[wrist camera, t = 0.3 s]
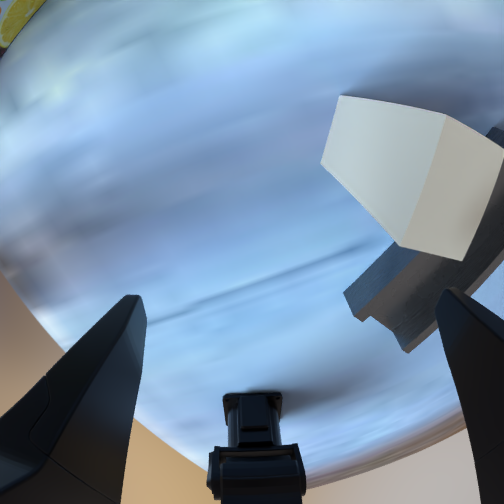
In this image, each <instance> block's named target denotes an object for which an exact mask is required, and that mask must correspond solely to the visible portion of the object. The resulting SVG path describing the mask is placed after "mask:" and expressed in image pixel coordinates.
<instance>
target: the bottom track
mask: <svg viewBox="0 0 504 504" xmlns="http://www.w3.org/2000/svg"><path fill="white" fill-rule="evenodd" d="M486 138H488V139H489V140H491V141H493V142H494V143H496V144H497V145H499V146H500V147H502V148H503V149H504V131H503V130H500V129H497V128H494V127H493V128H492V129H491V130H490V132H489V133H488V134H487V136H486ZM503 260H504V159H503V162H502V165H501V168H500V171H499V174H498V177H497V180H496V183H495V186H494V188H493V191H492V194H491V196H490V199H489V202H488V204H487V207H486V209H485V212H484V214H483V216H482V219H481V221H480V224H479V226H478V228H477V230H476V233H475V235H474V237H473V239H472V242H471V244H470V246H469V248H468V250H467V252H466V254H465V256H464V258H463V260H462V261H459V260H455V259H451V258H447V257H443V256H438V255H434V254H430V253H426V252H422V251H418V250H413V249H409V248H405V247H401V246H399V245H398V244H397V243H396V242H394V243H393V244H392V245H391V246H390V247H389V248H388V249H387V250H386V251H385V252H384V253H383V254H382V255H381V256H380V257H379V258H378V259H377V260H376V261H375V262H374V263H373V264H372V265H371V266H370V267H369V268H368V269H367V270H366V271H365V272H364V273H363V274H362V275H361V276H360V277H359V278H358V279H357V280H356V281H355V282H354V283H353V284H352V285H351V286H350V287H348V288H347V289H346V290H345V291H344V292H343V294H344V296H345V298H346V300H347V302H348V305H349V307H350V309H351V311H352V313H353V316H354V317H356V318H357V319H359V320H360V321H362V322H363V321H365V320H366V319H367V318H368V317H369V316H372V317H373V318H375V319H376V320H377V321H379V322H380V323H381V324H383V325H384V326H385V327H387V328H388V329H389V330H391V331H392V332H393V333H394V335H395V337H396V339H397V341H398V343H399V345H400V346H401V348H402V350H403V351H405V352H406V353H410V352H411V351H412V350H413V349H414V348H416V347H417V346H418V345H419V344H420V343H421V342H423V341H424V340H425V339H426V338H427V337H428V336H429V335H431V334H432V333H433V332H434V331H435V330H436V329H437V328H438V324H437V321H436V317H435V306H436V304H437V302H438V300H439V298H440V296H441V294H442V292H443V290H444V289H445V288H452V287H455V288H457V289H459V290H460V291H462V292H463V293H465V294H466V295H468V296H469V297H470V296H471V295H472V294H473V293H474V292H475V291H476V290H477V289H478V288H479V287H480V286H481V285H482V284H483V283H484V282H485V280H486V279H487V278H488V277H489V276H490V275H491V274H492V273H493V272H494V271H495V269H496V268H497V267H498V266H499V265H500V264H501V263H502V261H503Z"/></svg>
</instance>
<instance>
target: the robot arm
mask: <svg viewBox="0 0 504 504" xmlns="http://www.w3.org/2000/svg"><path fill="white" fill-rule="evenodd" d="M435 317H436V321H437V324H438V328H439V332H440V335H441V339H442V343H443V347H444V351H445V355H446V358H447V361H448V364H449V367H450V370H451V373H452V377H453V380H454V383H455V386H456V390H457V393H458V396H459V400H460V403H461V407H462V411H463V415H464V418H465V422H466V426H467V430H468V434H469V439H470V443H471V448H472V452H473V457H474V462H475V468H476V474H477V480H478V486H479V492H480V500H481V504H504V320H503V319H501V318H500V317H499V316H497V315H496V314H494V313H493V312H491V311H490V310H489V309H487V308H486V307H484V306H483V305H481V304H480V303H478V302H477V301H475V300H474V299H472V298H471V297H469V296H468V295H466V294H465V293H463V292H462V291H460V290H459V289H457V288H455V287H452V288H445V289H444V290H443V292H442V294H441V296H440V298H439V300H438V302H437V304H436V306H435ZM146 327H147V317H146V313H145V309H144V305H143V301H142V298H141V296H139V295H125V296H124V297H123V298H122V299H121V300H120V301H119V302H118V303H117V304H115V305H114V306H113V307H112V308H111V309H110V310H109V311H108V312H107V313H106V314H105V315H104V316H103V317H102V318H101V319H100V320H99V321H98V322H97V323H96V324H95V325H94V326H93V327H92V328H91V329H90V330H89V331H88V332H87V333H85V334H84V335H83V336H82V337H81V338H80V339H79V340H78V341H77V342H76V343H75V344H74V345H73V346H72V347H71V348H70V349H69V350H68V351H67V352H66V353H65V355H64V356H62V358H61V359H60V360H59V361H58V362H57V363H56V364H55V365H54V366H53V367H52V368H51V369H50V370H49V371H48V372H47V373H46V376H43V377H42V378H41V379H40V380H39V381H38V382H37V383H36V384H35V385H34V386H33V387H32V388H31V389H30V390H29V391H28V392H27V393H26V394H25V395H24V397H22V398H21V399H20V400H19V401H18V402H17V403H16V404H15V405H14V406H13V407H11V408H10V409H9V410H8V411H7V412H6V413H5V414H4V415H3V416H1V417H0V504H120V502H121V495H122V487H123V479H124V472H125V465H126V458H127V452H128V445H129V439H130V433H131V428H132V422H133V416H134V411H135V406H136V400H137V395H138V390H139V385H140V380H141V375H142V367H143V356H144V346H145V336H146ZM281 405H282V394H281V393H267V394H245V395H224V396H223V407H224V414H225V421H226V425H227V426H228V447H220V446H215V447H214V451H213V452H210V453H209V467H208V475H207V487H208V488H209V489H210V490H212V494H214V500H221V504H302V496H304V495H305V493H306V475H305V469H304V466H303V462H302V458H301V455H300V451H299V447H298V444H297V443H294V444H292V445H282V443H281V435H280V427H279V422H280V414H281Z"/></svg>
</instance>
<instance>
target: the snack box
mask: <svg viewBox="0 0 504 504" xmlns="http://www.w3.org/2000/svg"><path fill="white" fill-rule="evenodd" d="M45 1H46V0H0V58H1V56H2V55H3V53H4V52H5V51H6V49H7V48H8V46H9V45H10V43H11V42H12V41H13V39H14V38H15V37H16V36H17V34H18V33H19V32H20V31H21V29H22V28H23V27H24V25H25V24H26V23H27V22H28V21H29V19H30V18H31V17H32V16H33V15H34V13H35V12H36V11H37V10H38V9H39V8H40V7H41V5H42V4H43V3H44V2H45Z"/></svg>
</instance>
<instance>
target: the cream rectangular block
mask: <svg viewBox="0 0 504 504" xmlns="http://www.w3.org/2000/svg"><path fill="white" fill-rule="evenodd" d="M503 159H504V149H503V148H502V147H500V146H499V145H497V144H496V143H494V142H493V141H491V140H489V139H488V138H486V137H485V136H483V135H481V134H480V133H478V132H476V131H475V130H473V129H471V128H470V127H468V126H466V125H464V124H463V123H461V122H459V121H457V120H456V119H454V118H452V117H450V116H448V115H446V114H442V113H438V112H434V111H430V110H425V109H421V108H416V107H411V106H406V105H401V104H396V103H390V102H384V101H378V100H372V99H365V98H358V97H351V96H343V95H339V99H338V103H337V106H336V110H335V114H334V117H333V121H332V125H331V128H330V132H329V135H328V139H327V142H326V146H325V149H324V153H323V156H322V160H321V163H320V164H321V165H322V166H323V167H324V168H325V169H326V170H328V171H329V172H330V173H331V174H332V175H333V176H334V177H335V178H336V179H337V180H338V181H339V182H340V183H341V184H342V185H343V186H344V187H345V188H346V189H347V190H348V191H349V192H350V193H351V194H352V195H353V196H354V198H355V199H356V200H357V201H358V202H359V203H360V204H361V205H362V206H363V207H364V208H365V209H366V210H367V211H368V212H369V213H370V214H371V215H372V216H373V218H374V219H375V220H376V221H377V222H378V223H379V224H380V225H381V226H382V227H383V228H384V230H385V231H386V232H387V233H388V234H389V235H390V236H391V237H392V238H393V240H394V241H395V242H396V243H397V244H398V245H399V246H401V247H405V248H409V249H413V250H418V251H422V252H426V253H430V254H434V255H438V256H443V257H447V258H451V259H455V260H459V261H462V260H463V258H464V256H465V254H466V252H467V250H468V248H469V246H470V244H471V242H472V239H473V237H474V235H475V233H476V230H477V228H478V226H479V224H480V221H481V219H482V216H483V214H484V212H485V209H486V207H487V204H488V202H489V199H490V196H491V194H492V191H493V188H494V186H495V183H496V180H497V177H498V174H499V171H500V168H501V165H502V162H503Z"/></svg>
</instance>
